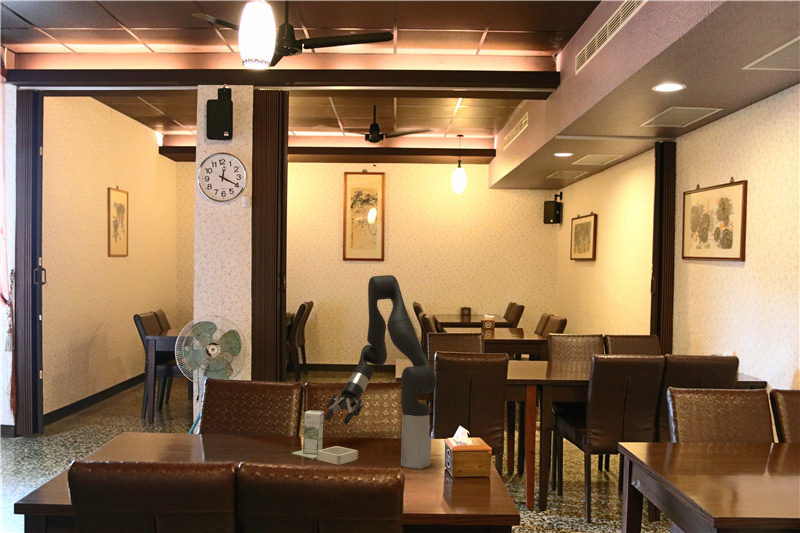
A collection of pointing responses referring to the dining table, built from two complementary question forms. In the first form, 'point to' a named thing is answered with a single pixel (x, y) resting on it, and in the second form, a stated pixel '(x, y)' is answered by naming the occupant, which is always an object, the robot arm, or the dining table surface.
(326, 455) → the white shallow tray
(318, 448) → the syrup box
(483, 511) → the dining table surface
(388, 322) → the robot arm
